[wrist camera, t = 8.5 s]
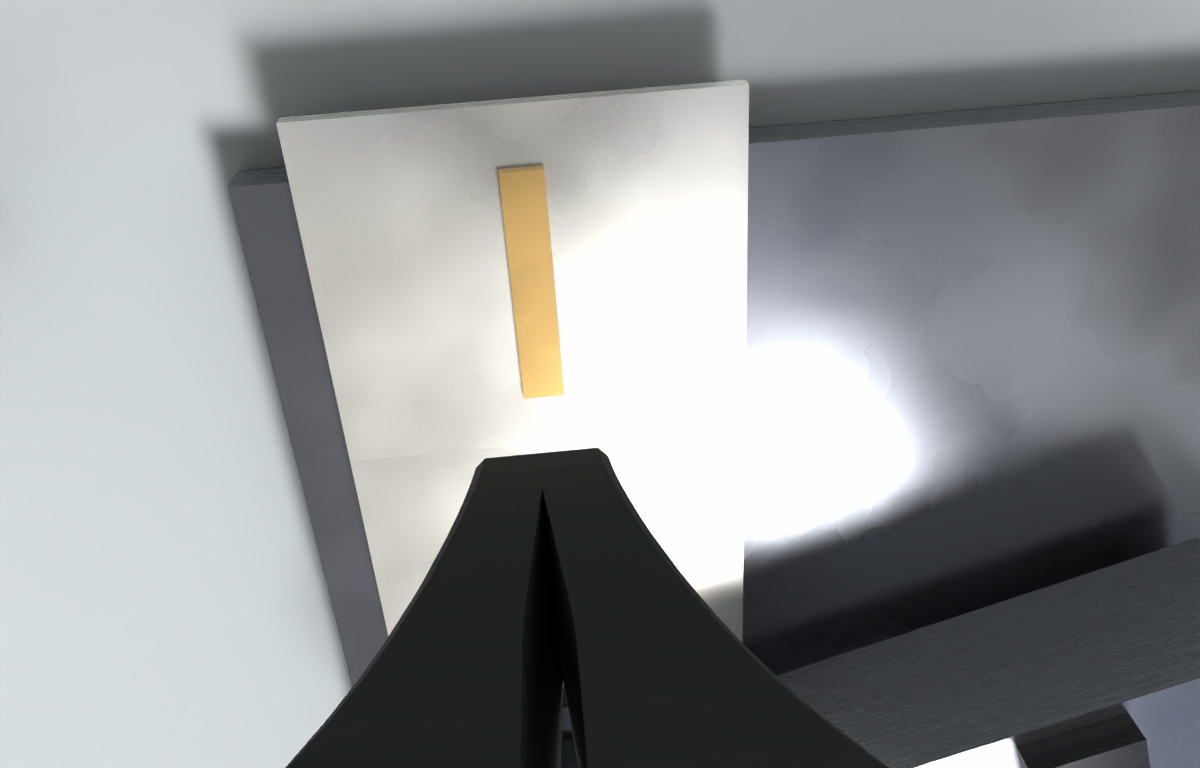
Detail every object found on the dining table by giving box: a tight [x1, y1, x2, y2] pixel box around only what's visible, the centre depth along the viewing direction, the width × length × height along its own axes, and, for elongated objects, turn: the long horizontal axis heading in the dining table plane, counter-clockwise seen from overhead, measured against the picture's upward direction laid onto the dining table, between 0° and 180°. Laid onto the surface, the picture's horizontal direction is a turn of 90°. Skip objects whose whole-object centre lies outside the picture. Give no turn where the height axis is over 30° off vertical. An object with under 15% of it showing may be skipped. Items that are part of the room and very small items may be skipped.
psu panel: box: [228, 79, 1200, 740], centre depth 20 cm, size 17×20×1 cm
